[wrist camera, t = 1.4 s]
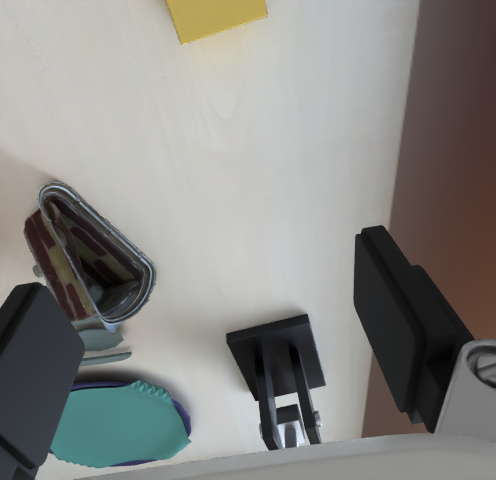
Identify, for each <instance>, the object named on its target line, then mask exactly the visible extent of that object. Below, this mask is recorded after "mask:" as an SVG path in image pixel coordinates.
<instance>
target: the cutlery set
mask: <svg viewBox="0 0 496 480" xmlns="http://www.w3.org/2000/svg"><path fill="white" fill-rule="evenodd" d="M96 320H101V319H100V317H99V316H96V317H93V318H90V319H87V320H84V321H80V322H75V323H72V325H73V326H76V325H80V324H84V323H88V322H92V321H96ZM78 334H79V335H80V337H81V338H82V340H83V342H84V345H85V351H102V350H106V349H109V348H113V347H116V346H117V345H118V344H119V343H121V342H122V341H123V340H124V339H123V337H122V335H121V333H118V332H115V333H114V334H111V333H110V332H109V331H108V329H104V328H87V329H84V330H81V331H78ZM131 354H132V352H125V353H118V354H111V355H104V356H97V357H90V358H83V359H82V361H81V364H80V366H87V365H95V364H103V363H109V362H116V361H122V360H125V359H127V358H129V357H130V356H131ZM190 433H191V425H190V417H189V415H188V414H187V413H186V411H185V410H184V409H183V407H182V406H181V405H180V404H179V403H178V402H176V401H174V400H173V399H171V398H170V396H169V393H168V391H166V390H165V389H164V388H161V387H157V386H155V385H150V384H149V383H146V382H142V381H141V380H139V381H136V382H135V383H133V384H129V383H121V382H114V381H100V382H80V383H77V384H73V386H72V389H71V391H70V394H69V397H68V400H67V402H66V405H65V408H64V411H63V414H62V416H61V419H60V422H59V425H58V427H57V430H56V433H55V436H54V439H53V441H52V444H51V447H50V450H49V453H52V454H54V455H55V456H56V458H57V459H59V460H65V461H66V462H72V463H74V464H80V465H81V466H83V465H86V466H88V467H95V468H104V467H108V466H110V467H116V466H131V465H138V464H143V463H147V462H152V461H156V460H165V459H169V458H171V457H173V456H174V455H176V454H177V453H178V452H179V451H181V450H182V449H183V448H184V447H186V446H187V445H188V444H189V443H190V442H191V441H190V440H189V438H188V437H189V435H190Z"/></svg>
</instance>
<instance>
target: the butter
mask: <svg viewBox="0 0 496 480" xmlns="http://www.w3.org/2000/svg"><path fill="white" fill-rule="evenodd" d="M166 3H167V6H168V9H169V12H170V15H171V18H172V20H173V23H174V26H175V29H176V32H177V35H178V38H179V41H180V44H181V45H183V44H186V43H189V42H192V41H195V40H198V39H201V38H204V37H207V36H210V35H213V34H216V33H219V32H222V31H225V30H228V29H231V28H234V27H237V26H240V25H243V24H246V23H249V22H252V21H255V20H258V19H261V18H264V17H267V16H268V14H267V9H266V4H265V0H166Z"/></svg>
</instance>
